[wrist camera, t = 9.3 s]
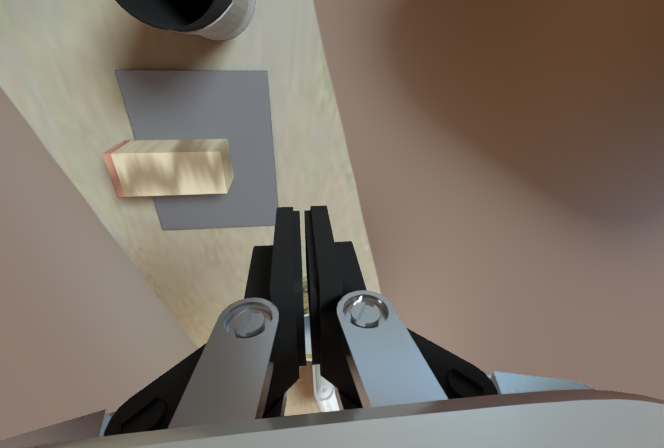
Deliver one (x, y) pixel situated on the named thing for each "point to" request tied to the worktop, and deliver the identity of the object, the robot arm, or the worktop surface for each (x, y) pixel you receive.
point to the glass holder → (194, 16)
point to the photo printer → (323, 392)
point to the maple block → (170, 167)
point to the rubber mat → (209, 123)
